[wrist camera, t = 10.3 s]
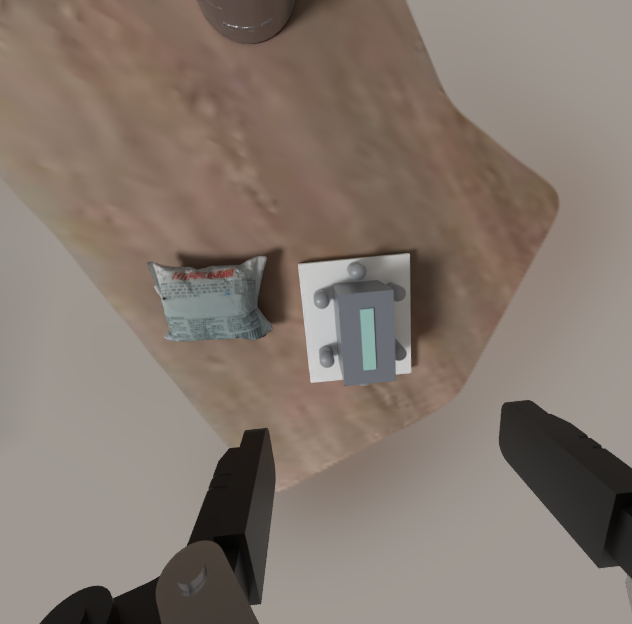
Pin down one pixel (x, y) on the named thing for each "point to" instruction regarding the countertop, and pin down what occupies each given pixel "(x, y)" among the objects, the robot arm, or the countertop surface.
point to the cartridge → (365, 331)
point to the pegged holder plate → (322, 317)
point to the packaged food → (212, 300)
